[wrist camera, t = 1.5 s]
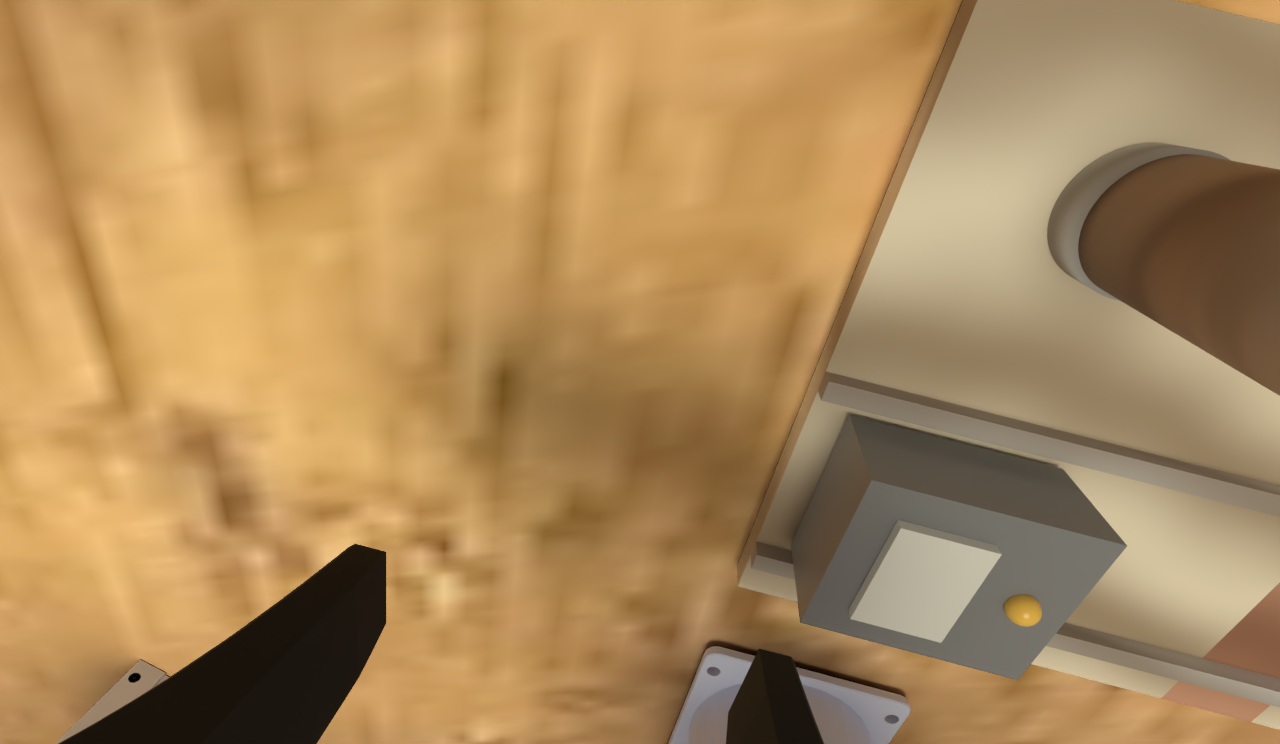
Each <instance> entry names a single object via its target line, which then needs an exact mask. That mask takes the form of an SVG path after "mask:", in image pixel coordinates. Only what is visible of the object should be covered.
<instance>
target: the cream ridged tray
mask: <svg viewBox="0 0 1280 744" xmlns="http://www.w3.org/2000/svg"><path fill="white" fill-rule="evenodd" d="M1148 142H1155V143H1165V144H1172V145H1177V146H1183V147H1189V148H1195V149H1201V150H1207V151H1211V152H1215V153H1218V154H1220V155H1222V156H1224V157H1226V158H1228V159H1230V160H1231V161H1236V162H1241V163H1247V164H1252V165H1258V166H1263V167H1269V168H1274V169H1280V24H1275V23H1271V22H1267V21H1262V20H1258V19H1254V18H1249V17H1245V16H1241V15H1236V14H1232V13H1228V12H1223V11H1219V10H1215V9H1210V8H1206V7H1202V6H1197V5H1193V4H1189V3H1184V2H1180V1H1176V0H963V1H962V4H961V6H960V9H959V11H958V14H957V16H956V19H955V21H954V24H953V26H952V29H951V31H950V34H949V36H948V39H947V41H946V44H945V46H944V49H943V51H942V54H941V56H940V59H939V61H938V64H937V66H936V69H935V71H934V74H933V76H932V79H931V81H930V84H929V86H928V89H927V91H926V94H925V96H924V99H923V101H922V104H921V106H920V109H919V111H918V114H917V116H916V119H915V121H914V124H913V126H912V129H911V132H910V134H909V137H908V139H907V142H906V144H905V147H904V149H903V152H902V154H901V157H900V159H899V162H898V164H897V167H896V169H895V172H894V174H893V177H892V179H891V182H890V184H889V187H888V189H887V192H886V194H885V197H884V199H883V202H882V204H881V207H880V209H879V212H878V214H877V217H876V219H875V222H874V224H873V227H872V229H871V232H870V234H869V237H868V239H867V242H866V244H865V247H864V249H863V252H862V254H861V257H860V259H859V262H858V264H857V267H856V269H855V272H854V274H853V277H852V279H851V282H850V284H849V287H848V289H847V292H846V294H845V297H844V299H843V302H842V304H841V307H840V309H839V312H838V314H837V317H836V319H835V322H834V324H833V327H832V329H831V332H830V334H829V337H828V339H827V342H826V344H825V347H824V349H823V352H822V354H821V357H820V359H819V362H818V364H817V367H816V369H815V372H814V374H813V377H812V379H811V382H810V384H809V387H808V390H807V392H806V395H805V397H804V400H803V402H802V405H801V407H800V410H799V412H798V415H797V417H796V420H795V422H794V425H793V427H792V430H791V432H790V435H789V437H788V440H787V442H786V445H785V447H784V450H783V452H782V455H781V457H780V460H779V462H778V465H777V467H776V470H775V472H774V475H773V477H772V480H771V482H770V485H769V487H768V490H767V492H766V495H765V497H764V500H763V502H762V505H761V507H760V510H759V512H758V515H757V517H756V520H755V522H754V525H753V527H752V530H751V532H750V535H749V537H748V540H747V542H746V545H745V547H744V550H743V552H742V555H741V557H740V560H739V562H738V587H742V588H746V589H749V590H753V591H757V592H761V593H765V594H768V595H772V596H776V597H780V598H783V599H787V600H791V601H795V602H798V600H797V592H796V584H795V575H794V567H793V559H792V551H791V543H792V541H793V539H794V536H795V534H796V532H797V530H798V528H799V525H800V523H801V521H802V519H803V516H804V514H805V512H806V510H807V508H808V505H809V503H810V501H811V499H812V496H813V494H814V492H815V490H816V487H817V485H818V483H819V481H820V479H821V476H822V474H823V472H824V470H825V467H826V465H827V463H828V461H829V458H830V456H831V454H832V452H833V450H834V447H835V445H836V443H837V441H838V438H839V436H840V434H841V432H842V429H843V427H844V425H845V423H846V421H847V418H848V416H849V414H850V415H853V416H857V417H861V418H865V419H869V420H873V421H877V422H881V423H885V424H889V425H893V426H897V427H901V428H905V429H908V430H912V431H916V432H920V433H924V434H928V435H932V436H936V437H940V438H944V439H948V440H952V441H956V442H960V443H963V444H967V445H971V446H975V447H979V448H983V449H987V450H991V451H995V452H999V453H1003V454H1007V455H1011V456H1015V457H1018V458H1022V459H1026V460H1030V461H1034V462H1038V463H1042V464H1046V465H1050V466H1054V467H1058V468H1062V469H1064V471H1065V472H1066V473H1067V474H1068V475H1069V477H1070V478H1071V479H1072V480H1073V481H1074V483H1075V484H1076V485H1077V486H1078V487H1079V489H1080V490H1081V491H1082V492H1083V493H1084V495H1085V496H1086V497H1087V498H1088V499H1089V501H1090V502H1091V503H1092V504H1093V505H1094V507H1095V508H1096V509H1097V510H1098V511H1099V513H1100V514H1101V515H1102V516H1103V517H1104V519H1105V520H1106V521H1107V522H1108V523H1109V525H1110V526H1111V527H1112V528H1113V529H1114V530H1115V532H1116V533H1117V534H1118V535H1119V536H1120V538H1121V539H1122V540H1123V541H1124V542H1125V544H1126V545H1127V547H1126V548H1125V549H1124V551H1123V552H1122V553H1121V554H1120V556H1119V557H1118V558H1117V559H1116V560H1115V562H1114V563H1113V564H1112V565H1111V567H1110V568H1109V569H1108V570H1107V571H1106V573H1105V574H1104V575H1103V576H1102V578H1101V579H1100V580H1099V581H1098V583H1097V584H1096V585H1095V586H1094V587H1093V589H1092V590H1091V591H1090V592H1089V594H1088V595H1087V596H1086V597H1085V598H1084V600H1083V601H1082V602H1081V603H1080V605H1079V606H1078V607H1077V608H1076V609H1075V611H1074V612H1073V613H1072V614H1071V616H1070V617H1069V618H1068V619H1067V620H1066V622H1065V623H1064V624H1063V625H1062V627H1061V628H1060V629H1059V630H1058V632H1057V633H1056V634H1055V635H1054V636H1053V638H1052V639H1051V640H1050V641H1049V643H1048V644H1047V645H1046V646H1045V647H1044V649H1043V650H1042V651H1041V652H1040V654H1039V655H1038V656H1037V657H1036V658H1035V660H1034V661H1033V662H1032V663H1031V664H1033V665H1037V666H1041V667H1045V668H1048V669H1052V670H1056V671H1060V672H1063V673H1067V674H1071V675H1075V676H1079V677H1082V678H1086V679H1090V680H1094V681H1097V682H1101V683H1105V684H1109V685H1113V686H1116V687H1120V688H1124V689H1128V690H1132V691H1135V692H1139V693H1143V694H1147V695H1150V696H1154V697H1158V698H1162V699H1166V700H1169V701H1173V702H1177V703H1181V704H1185V705H1188V706H1192V707H1196V708H1200V709H1203V710H1207V711H1211V712H1215V713H1219V714H1222V715H1226V716H1230V717H1234V718H1237V719H1241V720H1245V721H1249V722H1253V723H1256V724H1260V725H1264V726H1268V727H1272V728H1275V729H1279V730H1280V396H1279V395H1277V394H1276V393H1274V392H1272V391H1271V390H1269V389H1267V388H1266V387H1264V386H1262V385H1261V384H1259V383H1257V382H1256V381H1254V380H1252V379H1251V378H1249V377H1247V376H1246V375H1244V374H1242V373H1240V372H1239V371H1237V370H1235V369H1234V368H1232V367H1230V366H1229V365H1227V364H1225V363H1224V362H1222V361H1220V360H1219V359H1217V358H1215V357H1214V356H1212V355H1210V354H1209V353H1207V352H1205V351H1204V350H1202V349H1200V348H1199V347H1197V346H1195V345H1194V344H1192V343H1190V342H1189V341H1187V340H1185V339H1184V338H1182V337H1180V336H1179V335H1177V334H1175V333H1174V332H1172V331H1170V330H1169V329H1167V328H1165V327H1164V326H1162V325H1160V324H1158V323H1157V322H1155V321H1153V320H1152V319H1150V318H1148V317H1147V316H1145V315H1143V314H1142V313H1140V312H1138V311H1137V310H1135V309H1133V308H1132V307H1130V306H1128V305H1127V304H1125V303H1123V302H1122V301H1118V300H1113V299H1110V298H1107V297H1105V296H1103V295H1101V294H1098V293H1097V292H1095V291H1093V290H1092V289H1090V288H1089V287H1087V286H1085V285H1084V284H1082V283H1080V282H1079V281H1077V280H1076V279H1074V278H1072V277H1071V276H1069V275H1068V274H1066V273H1065V272H1064V271H1063V270H1062V269H1061V268H1060V267H1059V266H1058V265H1057V264H1056V262H1055V261H1054V259H1053V257H1052V255H1051V253H1050V250H1049V246H1048V240H1047V228H1048V222H1049V218H1050V215H1051V212H1052V209H1053V207H1054V205H1055V203H1056V200H1057V199H1058V197H1059V196H1060V194H1061V192H1062V191H1063V190H1064V188H1065V187H1066V186H1067V184H1068V183H1069V182H1070V181H1071V180H1072V179H1073V178H1074V177H1075V176H1076V175H1077V174H1078V173H1079V172H1080V171H1081V170H1082V169H1084V168H1085V167H1086V166H1087V165H1089V164H1090V163H1092V162H1093V161H1095V160H1096V159H1098V158H1100V157H1101V156H1103V155H1105V154H1107V153H1109V152H1112V151H1114V150H1116V149H1119V148H1122V147H1125V146H1129V145H1133V144H1138V143H1148Z"/></svg>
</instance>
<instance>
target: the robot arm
mask: <svg viewBox="0 0 1280 744" xmlns="http://www.w3.org/2000/svg"><path fill="white" fill-rule="evenodd" d="M385 624H386V552H384V551H380V550H377V549H373V548H369V547H365V546H361V545H357V544H354V545H352V546H350V547H349V548H347V549H346V550H345V551H343V552H342V553H341V554H340V555H338V556H337V557H336V558H335V559H333V560H332V561H331V562H329V563H328V564H327V565H326V566H324V567H323V568H322V569H321V570H319V571H318V572H317V573H315V574H314V575H313V576H312V577H310V578H309V579H308V580H306V581H305V582H304V583H303V584H301V585H300V586H299V587H297V588H296V589H295V590H293V591H292V592H291V593H289V594H288V595H287V596H285V597H284V598H283V599H281V600H280V601H279V602H277V603H276V604H275V605H273V606H272V607H271V608H269V609H268V610H266V611H265V612H264V613H262V614H261V615H260V616H258V617H257V618H255V619H254V620H253V621H251V622H250V623H249V624H247V625H246V626H244V627H243V628H242V629H240V630H239V631H237V632H236V633H235V634H233V635H232V636H230V637H229V638H228V639H226V640H225V641H223V642H222V643H220V644H219V645H217V646H216V647H214V648H213V649H211V650H210V651H208V652H207V653H205V654H204V655H202V656H201V657H199V658H198V659H196V660H195V661H193V662H192V663H190V664H189V665H187V666H186V667H184V668H183V669H182V670H180V671H179V672H177V673H176V674H174V675H172V676H171V677H169V678H168V679H166V680H165V681H163V682H161V683H160V684H158V685H157V686H155V687H154V688H152V689H150V690H149V691H147V692H146V693H144V694H142V695H141V696H139V697H138V698H136V699H134V700H133V701H131V702H129V703H128V704H126V705H124V706H123V707H121V708H119V709H118V710H116V711H114V712H113V713H111V714H109V715H108V716H106V717H104V718H103V719H101V720H99V721H97V722H96V723H94V724H92V725H91V726H89V727H87V728H85V729H83V730H82V731H80V732H78V733H76V734H75V735H73V736H71V737H69V738H67V739H66V740H64V741H62V742H60V743H58V744H316V743H317V742H318V740H319V739H320V737H321V736H322V734H323V733H324V731H325V730H326V728H327V726H328V725H329V723H330V722H331V720H332V719H333V717H334V716H335V714H336V712H337V711H338V709H339V708H340V706H341V705H342V703H343V701H344V700H345V698H346V697H347V695H348V694H349V692H350V690H351V689H352V687H353V686H354V684H355V682H356V681H357V679H358V678H359V676H360V674H361V672H362V670H363V668H364V666H365V664H366V662H367V660H368V658H369V656H370V655H371V653H372V651H373V649H374V647H375V645H376V642H377V640H378V638H379V636H380V634H381V632H382V630H383V628H384V626H385ZM910 711H911V710H910V706H909V702H908V700H907V699H906V698H905V697H904V696H901V695H899V694H895V693H892V692H888V691H884V690H880V689H877V688H873V687H869V686H865V685H862V684H858V683H854V682H850V681H847V680H843V679H839V678H835V677H832V676H828V675H824V674H821V673H817V672H813V671H809V670H806V669H802V668H798V667H796V665H795V662H794V661H793V659H792V658H791V657H789V656H786V655H782V654H778V653H774V652H770V651H766V650H762V649H758V652H757V654H756V656H753V655H749V654H746V653H742V652H738V651H735V650H731V649H727V648H723V647H719V646H713V647H710V648H708V649H707V650H706V651H705V652H704V655H703V657H702V660H701V662H700V665H699V667H698V670H697V672H696V675H695V677H694V680H693V682H692V685H691V687H690V690H689V692H688V695H687V697H686V700H685V702H684V705H683V707H682V710H681V712H680V715H679V717H678V720H677V722H676V725H675V727H674V730H673V732H672V735H671V737H670V740H669V742H668V744H889V742H890V741H891V739H892V738H893V737H894V735H895V734H896V732H897V731H898V730H899V728H900V727H901V725H902V724H903V722H904V721H905V720H906V718H907V717H908V715H909V714H910Z"/></svg>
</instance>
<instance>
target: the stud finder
mask: <svg viewBox="0 0 1280 744" xmlns="http://www.w3.org/2000/svg"><path fill="white" fill-rule="evenodd" d="M1126 547H1127V545H1126V544H1125V542H1124V541H1123V540H1122V539H1121V538H1120V536H1119V535H1118V534H1117V533H1116V532H1115V530H1114V529H1113V528H1112V527H1111V526H1110V525H1109V523H1108V522H1107V521H1106V520H1105V519H1104V517H1103V516H1102V515H1101V514H1100V513H1099V511H1098V510H1097V509H1096V508H1095V507H1094V505H1093V504H1092V503H1091V502H1090V501H1089V499H1088V498H1087V497H1086V496H1085V495H1084V493H1083V492H1082V491H1081V490H1080V489H1079V487H1078V486H1077V485H1076V484H1075V483H1074V481H1073V480H1072V479H1071V478H1070V477H1069V475H1068V474H1067V473H1066V472H1065V471H1064V469H1062V468H1058V467H1054V466H1050V465H1046V464H1042V463H1038V462H1034V461H1030V460H1026V459H1022V458H1018V457H1015V456H1011V455H1007V454H1003V453H999V452H995V451H991V450H987V449H983V448H979V447H975V446H971V445H967V444H963V443H960V442H956V441H952V440H948V439H944V438H940V437H936V436H932V435H928V434H924V433H920V432H916V431H912V430H908V429H905V428H901V427H897V426H893V425H889V424H885V423H881V422H877V421H873V420H869V419H865V418H861V417H857V416H853V415H850V414H849V416H848V418H847V421H846V423H845V425H844V427H843V429H842V432H841V434H840V436H839V438H838V441H837V443H836V445H835V447H834V450H833V452H832V454H831V456H830V458H829V461H828V463H827V465H826V467H825V470H824V472H823V474H822V476H821V479H820V481H819V483H818V485H817V487H816V490H815V492H814V494H813V496H812V499H811V501H810V503H809V505H808V508H807V510H806V512H805V514H804V516H803V519H802V521H801V523H800V525H799V528H798V530H797V532H796V534H795V536H794V539H793V541H792V543H791V551H792V559H793V567H794V575H795V584H796V592H797V600H798V608H799V616H800V623H804V624H808V625H812V626H815V627H819V628H823V629H827V630H830V631H834V632H838V633H842V634H845V635H849V636H853V637H857V638H861V639H864V640H868V641H872V642H876V643H879V644H883V645H887V646H891V647H895V648H898V649H902V650H906V651H910V652H913V653H917V654H921V655H925V656H928V657H932V658H936V659H940V660H944V661H947V662H951V663H955V664H959V665H962V666H966V667H970V668H974V669H977V670H981V671H985V672H989V673H993V674H996V675H1000V676H1004V677H1008V678H1011V679H1015V680H1018V679H1019V678H1020V677H1021V676H1022V674H1023V673H1024V672H1025V671H1026V670H1027V668H1028V667H1029V666H1030V665H1031V663H1032V662H1033V661H1034V660H1035V658H1036V657H1037V656H1038V655H1039V654H1040V652H1041V651H1042V650H1043V649H1044V647H1045V646H1046V645H1047V644H1048V643H1049V641H1050V640H1051V639H1052V638H1053V636H1054V635H1055V634H1056V633H1057V632H1058V630H1059V629H1060V628H1061V627H1062V625H1063V624H1064V623H1065V622H1066V620H1067V619H1068V618H1069V617H1070V616H1071V614H1072V613H1073V612H1074V611H1075V609H1076V608H1077V607H1078V606H1079V605H1080V603H1081V602H1082V601H1083V600H1084V598H1085V597H1086V596H1087V595H1088V594H1089V592H1090V591H1091V590H1092V589H1093V587H1094V586H1095V585H1096V584H1097V583H1098V581H1099V580H1100V579H1101V578H1102V576H1103V575H1104V574H1105V573H1106V571H1107V570H1108V569H1109V568H1110V567H1111V565H1112V564H1113V563H1114V562H1115V560H1116V559H1117V558H1118V557H1119V556H1120V554H1121V553H1122V552H1123V551H1124V549H1125V548H1126Z"/></svg>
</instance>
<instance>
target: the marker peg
mask: <svg viewBox="0 0 1280 744" xmlns="http://www.w3.org/2000/svg"><path fill="white" fill-rule="evenodd" d="M1047 240H1048V246H1049V250H1050V253H1051V255H1052V257H1053V259H1054V261H1055V262H1056V264H1057V265H1058V266H1059V267H1060V268H1061V269H1062V270H1063V271H1064V272H1065V273H1066V274H1068V275H1069V276H1071V277H1072V278H1074V279H1076V280H1077V281H1079V282H1080V283H1082V284H1084V285H1085V286H1087V287H1089V288H1090V289H1092V290H1093V291H1095V292H1097V293H1098V294H1101V295H1103V296H1105V297H1107V298H1110V299H1113V300H1118V301H1122V302H1123V303H1125V304H1127V305H1128V306H1130V307H1132V308H1133V309H1135V310H1137V311H1138V312H1140V313H1142V314H1143V315H1145V316H1147V317H1148V318H1150V319H1152V320H1153V321H1155V322H1157V323H1158V324H1160V325H1162V326H1164V327H1165V328H1167V329H1169V330H1170V331H1172V332H1174V333H1175V334H1177V335H1179V336H1180V337H1182V338H1184V339H1185V340H1187V341H1189V342H1190V343H1192V344H1194V345H1195V346H1197V347H1199V348H1200V349H1202V350H1204V351H1205V352H1207V353H1209V354H1210V355H1212V356H1214V357H1215V358H1217V359H1219V360H1220V361H1222V362H1224V363H1225V364H1227V365H1229V366H1230V367H1232V368H1234V369H1235V370H1237V371H1239V372H1240V373H1242V374H1244V375H1246V376H1247V377H1249V378H1251V379H1252V380H1254V381H1256V382H1257V383H1259V384H1261V385H1262V386H1264V387H1266V388H1267V389H1269V390H1271V391H1272V392H1274V393H1276V394H1277V395H1279V396H1280V169H1274V168H1269V167H1263V166H1258V165H1252V164H1247V163H1241V162H1236V161H1231V160H1230V159H1228V158H1226V157H1224V156H1222V155H1220V154H1218V153H1215V152H1211V151H1207V150H1201V149H1195V148H1189V147H1183V146H1177V145H1172V144H1165V143H1155V142H1148V143H1138V144H1133V145H1129V146H1125V147H1122V148H1119V149H1116V150H1114V151H1112V152H1109V153H1107V154H1105V155H1103V156H1101V157H1100V158H1098V159H1096V160H1095V161H1093V162H1092V163H1090V164H1089V165H1087V166H1086V167H1085V168H1084V169H1082V170H1081V171H1080V172H1079V173H1078V174H1077V175H1076V176H1075V177H1074V178H1073V179H1072V180H1071V181H1070V182H1069V183H1068V184H1067V186H1066V187H1065V188H1064V190H1063V191H1062V192H1061V194H1060V196H1059V197H1058V199H1057V200H1056V203H1055V205H1054V207H1053V209H1052V212H1051V215H1050V218H1049V222H1048V228H1047Z"/></svg>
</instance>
